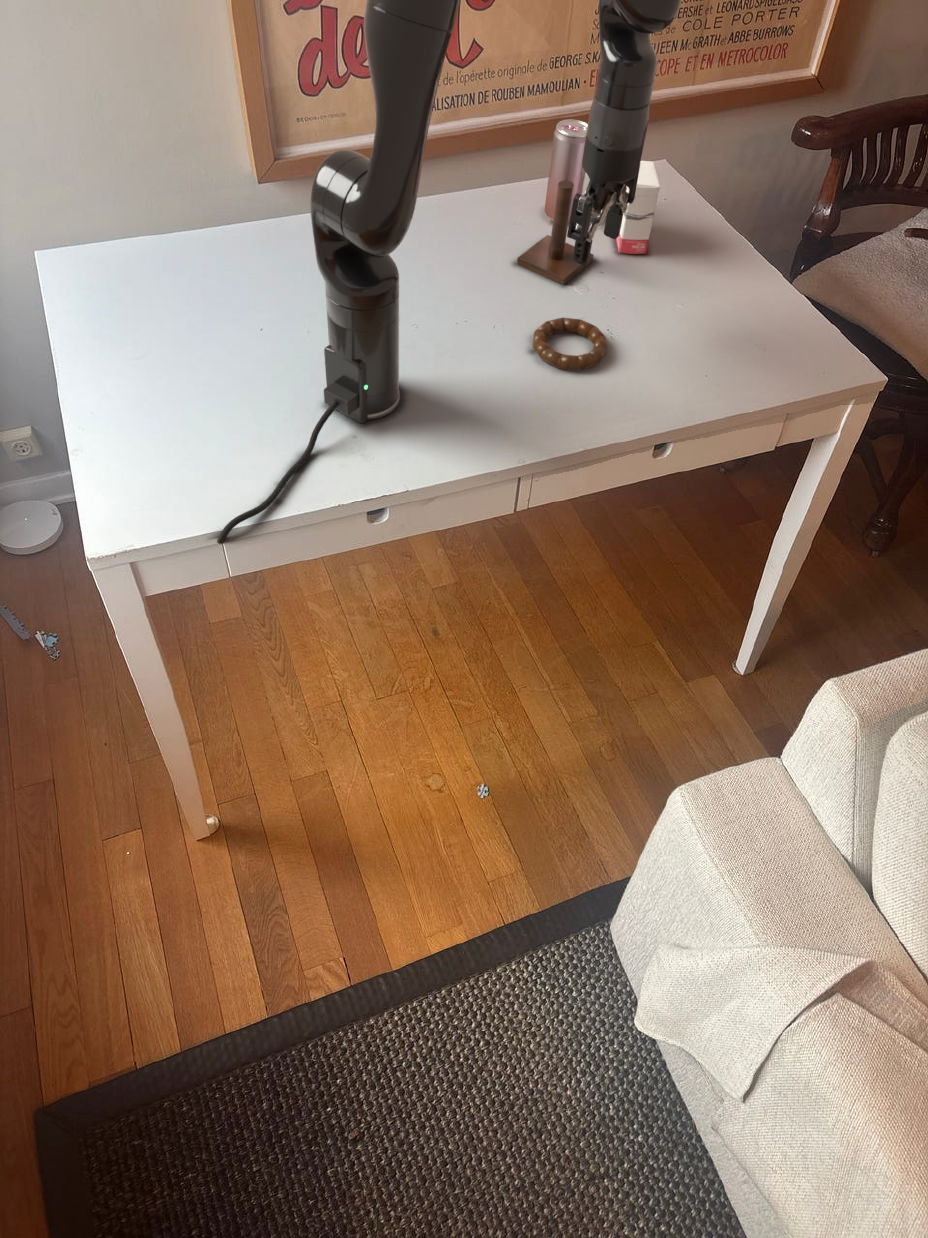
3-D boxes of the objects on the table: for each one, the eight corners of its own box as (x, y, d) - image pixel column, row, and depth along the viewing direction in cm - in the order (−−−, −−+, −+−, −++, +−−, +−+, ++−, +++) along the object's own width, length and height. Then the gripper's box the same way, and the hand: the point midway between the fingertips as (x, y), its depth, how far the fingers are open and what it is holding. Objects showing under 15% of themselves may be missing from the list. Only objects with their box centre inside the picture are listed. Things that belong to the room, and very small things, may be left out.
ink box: (646, 255, 160) (661, 186, 151) (617, 253, 160) (630, 184, 151) (640, 227, 165) (654, 158, 156) (612, 225, 165) (624, 157, 156)
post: (563, 284, 153) (575, 206, 143) (516, 264, 156) (525, 185, 146) (592, 260, 158) (606, 183, 148) (546, 240, 161) (557, 163, 151)
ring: (581, 382, 139) (583, 370, 137) (518, 351, 142) (519, 340, 141) (619, 346, 144) (621, 334, 143) (557, 317, 148) (559, 306, 146)
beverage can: (549, 203, 169) (561, 115, 157) (582, 210, 168) (596, 123, 156) (539, 219, 165) (550, 131, 153) (573, 227, 164) (586, 139, 152)
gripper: (618, 104, 128) (598, 219, 141) (562, 144, 121) (546, 261, 133) (667, 122, 126) (643, 237, 138) (613, 164, 118) (593, 281, 131)
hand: (595, 249), depth 136 cm, fingers open, 8 cm apart
